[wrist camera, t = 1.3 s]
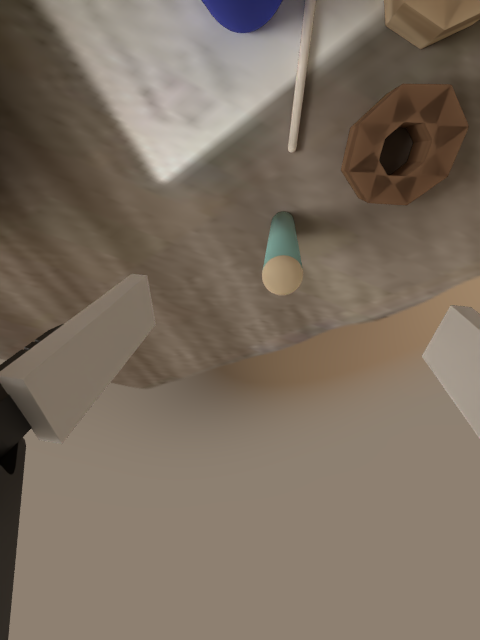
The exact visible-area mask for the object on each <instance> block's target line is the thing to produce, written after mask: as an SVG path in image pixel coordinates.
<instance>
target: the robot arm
mask: <svg viewBox="0 0 480 640" xmlns="http://www.w3.org/2000/svg"><path fill="white" fill-rule="evenodd" d="M155 325H156V323H155V317H154V311H153V306H152V300H151V294H150V289H149V283H148V277H147V275H138V274H131V275H130V276H128V277H127V278H126V279H124V280H123V281H121V282H120V283H119V284H117V285H116V286H115V287H113V288H112V289H111V290H109V291H108V292H107V293H105V294H104V295H103V296H101V297H100V298H99V299H97V300H96V301H94V302H93V303H92V304H90V305H89V306H88V307H86V308H85V309H84V310H82V311H81V312H80V313H78V314H77V315H76V316H74V317H73V318H72V319H70V320H69V321H68V322H66V323H65V324H62V325H59V326H57V327H55V328H53V329H51V330H48V331H47V332H45V333H44V334H43V335H41V336H40V337H38V338H37V339H36V340H35V342H31V343H30V344H29V345H27V346H26V347H24V350H20V351H19V352H18V353H16V354H15V355H13V356H12V357H11V358H9V359H8V360H6V361H5V362H4V363H3V364H1V365H0V640H8V634H9V623H10V612H11V602H12V601H11V600H12V591H13V580H14V570H15V559H16V548H17V537H18V527H19V515H20V505H21V494H22V484H23V473H24V462H25V451H26V444H25V440H24V439H23V436H24V435H25V434H26V433H27V432H28V431H29V430H30V429H32V430H33V432H34V433H35V434H36V436H37V437H38V439H39V440H43V441H48V442H54V443H60V444H62V443H63V442H64V441H65V439H66V438H67V437H68V436H69V434H70V433H71V432H72V431H73V429H74V428H75V427H76V426H77V424H78V423H79V422H80V420H81V419H82V418H83V417H84V415H85V414H86V413H87V411H88V410H89V409H90V408H91V406H92V405H93V404H94V402H95V401H96V400H97V399H98V398H99V396H100V395H101V394H102V392H103V391H104V390H105V388H106V387H107V386H108V385H109V384H110V382H111V381H112V380H113V378H114V377H115V376H116V375H117V373H118V372H119V371H120V370H121V368H122V367H123V366H124V364H125V363H126V362H127V361H128V359H129V358H130V357H131V356H132V354H133V353H134V352H135V350H136V349H137V348H138V347H139V345H140V344H141V343H142V342H143V340H144V339H145V338H146V336H147V335H148V334H149V333H150V331H151V330H152V329H153V327H154V326H155ZM422 357H423V358H424V360H425V362H426V363H427V364H428V366H429V367H430V369H431V370H432V372H433V373H434V374H435V376H436V377H437V379H438V380H439V381H440V383H441V384H442V386H443V387H444V389H445V390H446V391H447V393H448V394H449V396H450V397H451V399H452V400H453V401H454V403H455V404H456V406H457V407H458V409H459V410H460V411H461V413H462V414H463V416H464V417H465V418H466V420H467V421H468V423H469V424H470V426H471V427H472V429H473V430H474V431H475V433H476V434H477V436H478V437H479V438H480V314H479V313H478V312H477V311H475V310H474V309H473V308H472V307H465V306H455V305H451V306H450V307H449V309H448V311H447V313H446V314H445V316H444V318H443V320H442V321H441V323H440V325H439V327H438V329H437V330H436V332H435V334H434V336H433V337H432V339H431V341H430V343H429V344H428V346H427V348H426V350H425V352H424V353H423V355H422Z"/></svg>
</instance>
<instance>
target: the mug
mask: <svg viewBox="0 0 480 640" xmlns="http://www.w3.org/2000/svg"><path fill="white" fill-rule="evenodd" d="M202 2H203V3H204V4H205V6H206V7H207V9H208V10H209V11H210V13H211V14H212V15H213V17H214V18H215V19H216V20H217V21H218V22H219V23H220V24H221V25H222V26H224V27H225V28H227V29H229V30H231V31H234V32H237V33H248V32H252V31H255V30H257V29H259V28H260V27H262V26H263V25H264V24H266V23H267V22H268V21H269V20H270V19H271V17H272V16H273V15H274V14H275V12H276V11H277V9H278V7H279V6H280V4H281V2H282V0H202Z"/></svg>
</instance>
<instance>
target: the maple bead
mask: <svg viewBox="0 0 480 640" xmlns="http://www.w3.org/2000/svg"><path fill="white" fill-rule="evenodd" d="M384 7H385V25H386V27H388V28H389V29H391V30H392V31H394V32H395V33H397V34H398V35H400V36H401V37H403V38H404V39H406V40H407V41H409V42H410V43H412V44H413V45H415V46H416V47H418V48H419V49H423V48H425V47H427V46H429V45H431V44H433V43H435V42H437V41H439V40H442V39H444V38H446V37H448V36H450V35H452V34H454V33H456V32H458V31H460V30H463V29H465V28H467V27H469V26H471V25H473V24H474V23H475V22H477V21H478V20H480V0H384Z"/></svg>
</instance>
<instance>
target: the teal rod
mask: <svg viewBox="0 0 480 640" xmlns="http://www.w3.org/2000/svg"><path fill="white" fill-rule="evenodd" d="M262 279H263V283H264V285H265V287H266V288H267V289H268V290H269V291H270V292H272V293H274V294H276V295H288V294H290V293H292V292H294V291H295V290H296V289H297V288H298V287H299V286H300V284H301V282H302V279H303V269H302V263H301V258H300V252H299V247H298V241H297V235H296V230H295V224H294V219H293V217H292V215H291V214H290V213H288V212H279V213H277V214H276V215H275V216H274V217H273V219H272V222H271V228H270V233H269V239H268V244H267V250H266V255H265V261H264V266H263V272H262Z"/></svg>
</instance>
